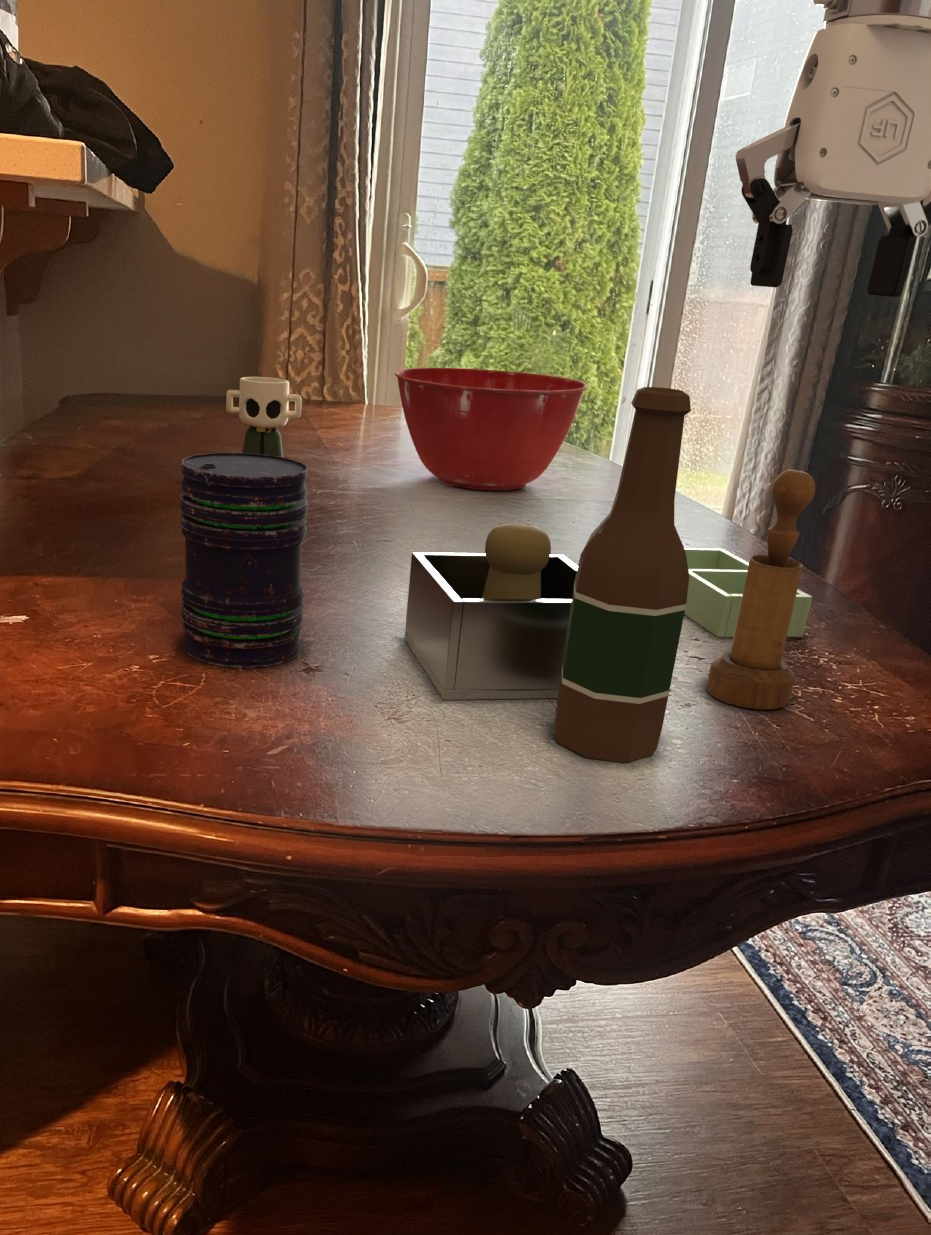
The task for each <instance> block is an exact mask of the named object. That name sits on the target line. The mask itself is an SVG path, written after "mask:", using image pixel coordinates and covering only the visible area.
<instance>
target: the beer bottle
mask: <svg viewBox="0 0 931 1235" xmlns="http://www.w3.org/2000/svg"><path fill="white" fill-rule="evenodd" d="M630 404H631V405H632V407H633V408H634V413H633V418H632V422H631V423H632V424H631V427H630V432H629V437H628V441H627V445H626V450H625V455H624V459H623V463H622V464H623V465H622V468H621V472H620V477H619V482H618V487H617V491H616V494H615V495H614V496H615V497H614V500H613V502H612V505H611V508H610V511H609V514H607V515H606V516H605V517H604V519H603V520H602V521H601V522H600V523H599V525H598V526H597V527H596V528H595V529H594V530H593V532H591V534H590V536H589V538H588V540H587V542H586V543H585V545H584V547H583V549H582V550H581V553H580V555H579V560H578V565H577V566H578V568H577V573H576V577H575V582H574V589H573V596H572V602H571V609H570V616H569V623H568V629H567V636H566V643H565V650H564V657H563V663H562V670H561V677H560V684H559V690H558V697H557V698H556V707H555V708H556V709H555V718H554V719H555V720H554V724H555V725H554V726H555V727H554V728H555V732H554V735H555V737H554V738H555V740H556V743H557V744H559V745H560V746H562V747H565V748H567V749H568V750H570V751H573V752H574V753H576V754H578V755H580V756H582V757H584V758H586V759H593V760H603V761H611V762H618V763H625V764H626V763H630V762H632V761H636V760H639V759H642V758H646V757H649V756H651V755H654V753H656V751H657V749H658V746H659V742H660V737H661V735H662V730H663V725H664V721H665V717H666V716H665V715H666V710H667V705H668V700H669V696H670V691H671V685H672V679H673V675H674V669H675V665H676V660H677V656H678V655H677V654H678V649H679V644H680V639H681V634H682V629H683V622H684V618H685V614H684V613H685V608H686V602H687V594H688V585H689V571H688V565H687V558H686V552H685V549H684V548H685V547H684V545H683V542H682V539H681V538H680V535H679V533H678V530H677V528H676V525H675V500H676V499H675V498H676V493H677V492H676V490H677V482H678V476H679V475H678V473H679V467H680V466H679V465H680V457H681V449H682V441H683V434H684V433H683V432H684V424H685V418H686V415H687V414H689V413H691V411H692V407H691V406H692V405H691V397H690V395H689V394H688V393H687V392H685V391H684V390H681V389H676V388H669V387H658V386H643V387H640V388H637V389H636V391H635V393H634V396H633V398H632V400H631V402H630Z"/></svg>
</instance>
